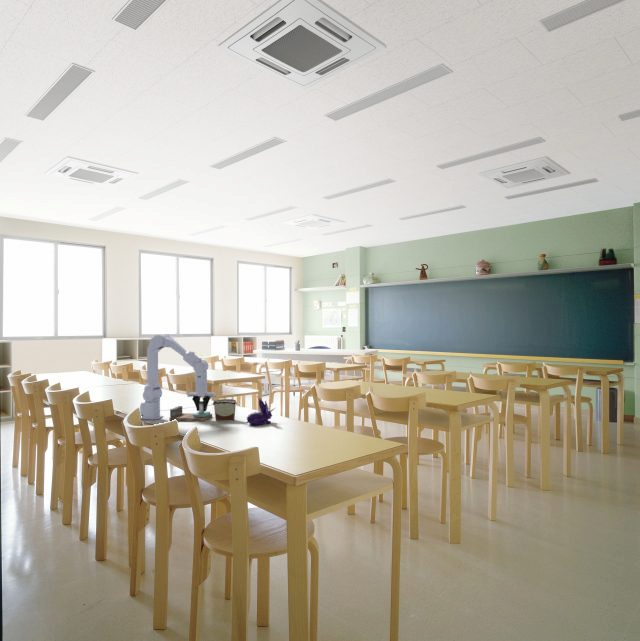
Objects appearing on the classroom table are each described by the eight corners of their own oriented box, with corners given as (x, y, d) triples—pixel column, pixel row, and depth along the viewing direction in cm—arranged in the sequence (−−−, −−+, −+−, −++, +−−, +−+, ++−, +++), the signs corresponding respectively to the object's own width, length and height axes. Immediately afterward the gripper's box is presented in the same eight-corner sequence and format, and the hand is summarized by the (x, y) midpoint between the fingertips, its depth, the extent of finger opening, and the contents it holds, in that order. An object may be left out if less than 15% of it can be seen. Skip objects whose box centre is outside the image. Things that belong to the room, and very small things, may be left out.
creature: (281, 422, 238) (281, 397, 238) (248, 428, 227) (248, 401, 227) (272, 419, 245) (271, 395, 245) (239, 425, 234) (239, 399, 234)
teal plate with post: (193, 416, 246) (192, 403, 246) (199, 413, 254) (199, 400, 254) (204, 417, 245) (204, 403, 245) (210, 413, 253) (210, 400, 253)
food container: (240, 418, 250) (239, 398, 250) (236, 420, 244) (236, 400, 243) (216, 418, 251) (216, 398, 251) (212, 420, 245) (212, 400, 245)
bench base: (169, 421, 245) (169, 409, 245) (179, 416, 257) (179, 405, 257) (203, 421, 243) (203, 410, 243) (212, 416, 255) (212, 406, 255)
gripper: (217, 383, 252) (218, 409, 252) (191, 383, 254) (191, 409, 254) (212, 385, 245) (213, 412, 245) (185, 385, 247) (185, 411, 247)
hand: (201, 410), depth 249 cm, fingers closed on teal plate with post, 3 cm apart
